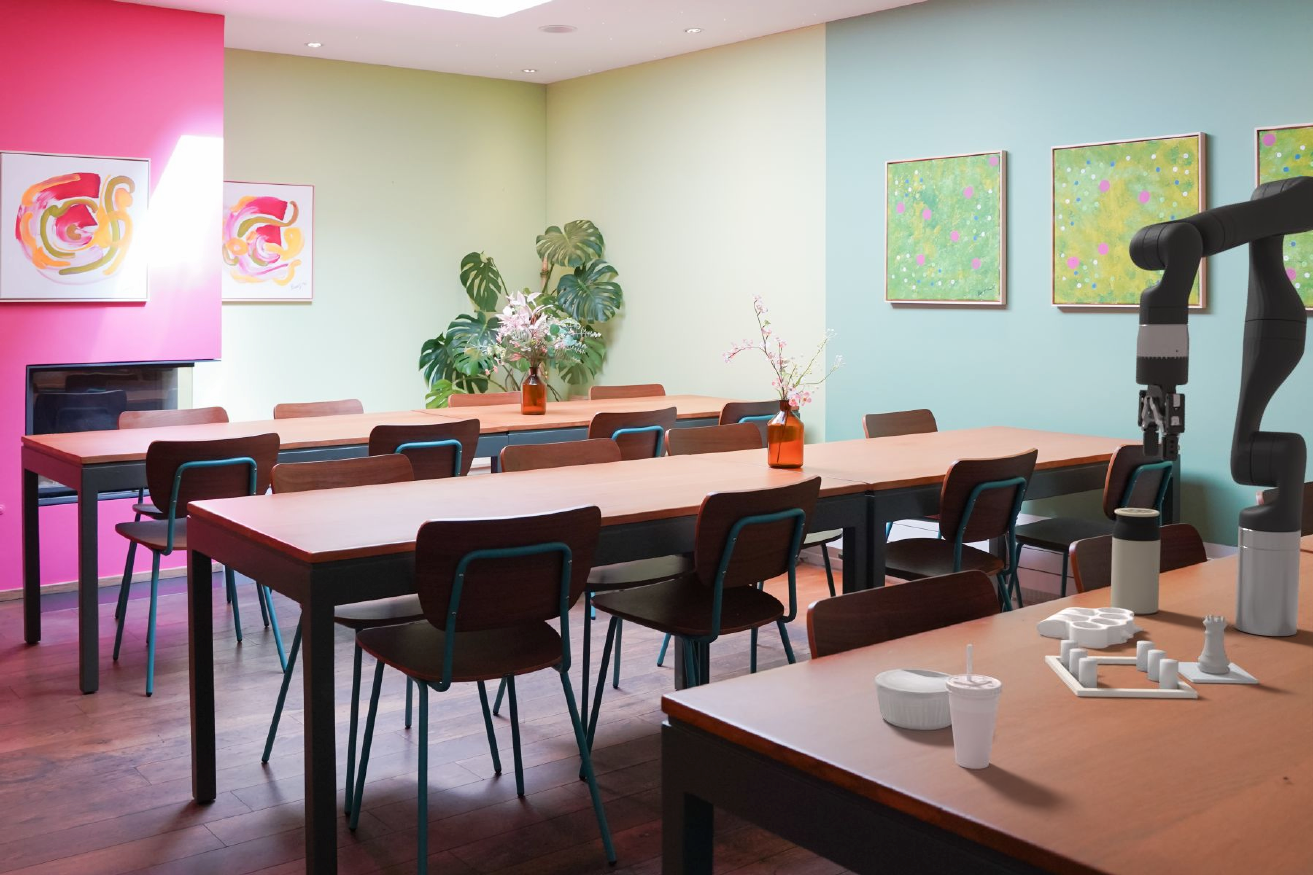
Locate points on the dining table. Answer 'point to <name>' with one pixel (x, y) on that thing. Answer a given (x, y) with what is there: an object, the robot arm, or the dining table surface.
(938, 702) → the ramekin
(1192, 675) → the tile
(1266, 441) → the robot arm
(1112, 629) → the white holed part
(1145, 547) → the travel mug
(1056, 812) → the dining table surface
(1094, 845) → the dining table surface
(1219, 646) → the rook chess piece
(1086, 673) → the frame
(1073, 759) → the dining table surface
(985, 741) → the smoothie
